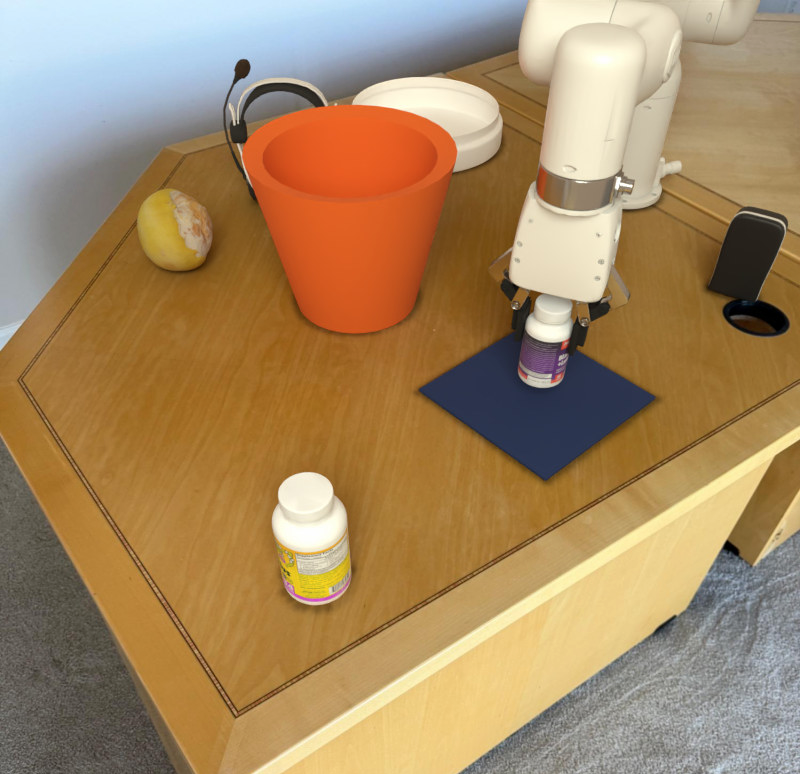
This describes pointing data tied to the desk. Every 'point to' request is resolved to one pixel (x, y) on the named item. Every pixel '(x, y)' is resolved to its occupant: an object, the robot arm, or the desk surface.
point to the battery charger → (748, 253)
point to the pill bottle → (546, 342)
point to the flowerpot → (352, 207)
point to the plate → (446, 112)
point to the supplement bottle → (312, 539)
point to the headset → (262, 87)
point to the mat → (536, 405)
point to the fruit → (174, 230)
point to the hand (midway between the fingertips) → (546, 340)
